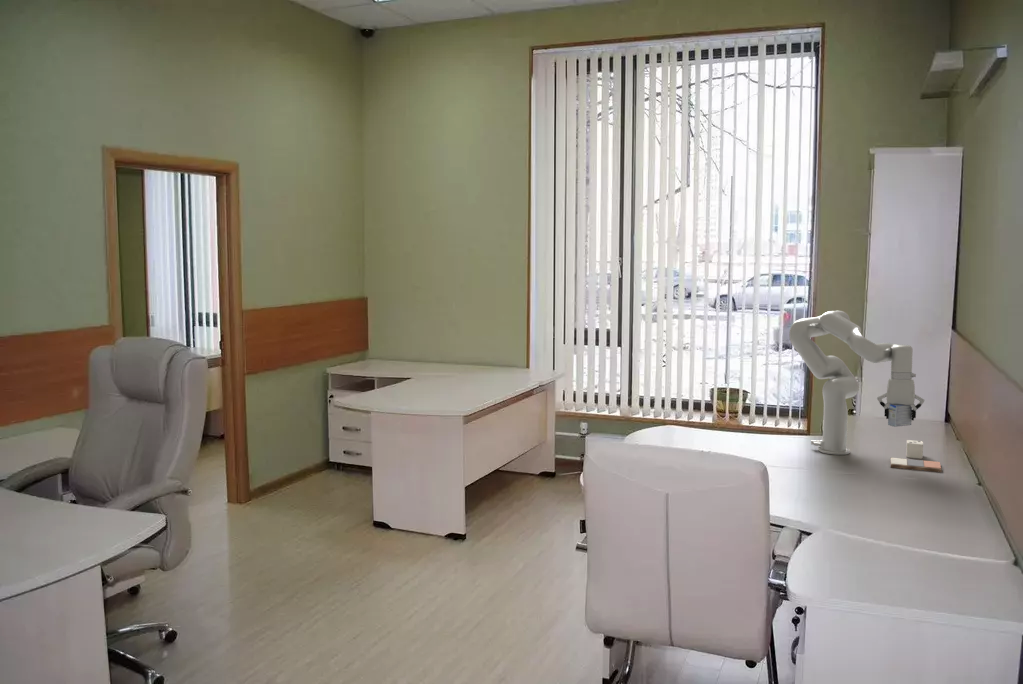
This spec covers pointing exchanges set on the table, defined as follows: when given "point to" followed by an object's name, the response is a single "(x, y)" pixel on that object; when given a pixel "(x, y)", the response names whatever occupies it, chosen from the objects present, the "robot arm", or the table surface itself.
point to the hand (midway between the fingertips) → (899, 419)
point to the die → (914, 449)
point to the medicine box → (899, 415)
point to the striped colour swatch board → (915, 464)
